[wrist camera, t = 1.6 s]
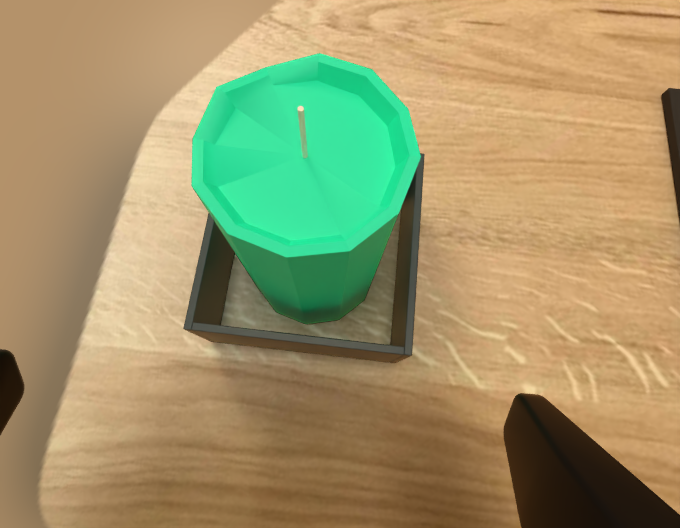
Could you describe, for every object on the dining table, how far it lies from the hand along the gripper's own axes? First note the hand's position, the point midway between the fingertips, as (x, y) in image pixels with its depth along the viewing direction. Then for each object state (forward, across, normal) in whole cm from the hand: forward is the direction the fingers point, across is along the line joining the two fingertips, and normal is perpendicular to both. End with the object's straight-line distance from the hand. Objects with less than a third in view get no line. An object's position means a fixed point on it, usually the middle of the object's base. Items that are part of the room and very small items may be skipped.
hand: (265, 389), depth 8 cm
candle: (+13, 0, +4) cm, 14 cm away
